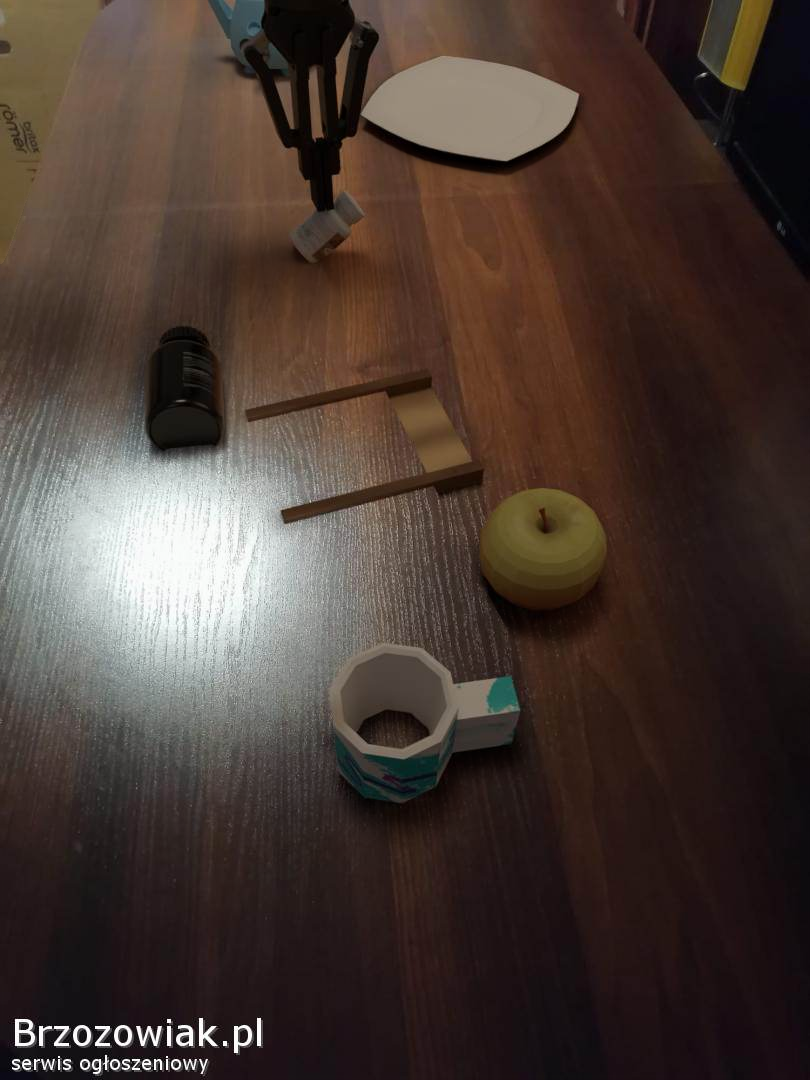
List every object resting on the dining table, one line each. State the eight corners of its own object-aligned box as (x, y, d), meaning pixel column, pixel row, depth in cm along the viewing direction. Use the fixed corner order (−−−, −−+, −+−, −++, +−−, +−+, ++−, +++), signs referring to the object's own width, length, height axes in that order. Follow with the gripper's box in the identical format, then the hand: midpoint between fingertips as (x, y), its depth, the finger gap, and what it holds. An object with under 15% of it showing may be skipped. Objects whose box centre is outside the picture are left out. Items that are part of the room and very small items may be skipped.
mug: (330, 709, 62) (323, 649, 56) (491, 686, 64) (503, 625, 57) (344, 819, 57) (338, 768, 51) (518, 792, 59) (535, 738, 52)
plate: (513, 189, 107) (515, 174, 106) (334, 130, 116) (334, 116, 114) (600, 105, 122) (603, 90, 120) (435, 58, 130) (436, 44, 128)
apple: (496, 517, 74) (507, 451, 68) (607, 551, 72) (629, 487, 66) (459, 605, 68) (466, 542, 62) (578, 644, 66) (599, 584, 60)
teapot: (207, 55, 129) (194, -31, 120) (286, 34, 134) (279, -50, 125) (258, 95, 122) (248, 6, 113) (339, 71, 127) (336, -15, 118)
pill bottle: (314, 270, 94) (367, 222, 92) (286, 238, 92) (340, 188, 90) (317, 262, 98) (368, 216, 96) (290, 231, 96) (342, 183, 94)
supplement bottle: (229, 457, 78) (226, 369, 85) (218, 401, 73) (217, 312, 80) (151, 463, 77) (156, 374, 84) (135, 407, 72) (141, 317, 79)
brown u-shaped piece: (247, 423, 81) (244, 409, 79) (427, 382, 85) (427, 368, 83) (285, 533, 72) (283, 520, 71) (482, 482, 76) (484, 468, 75)
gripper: (235, -28, 70) (270, 234, 88) (390, -48, 72) (393, 211, 91) (215, -59, 74) (253, 197, 92) (363, -76, 77) (370, 176, 95)
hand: (322, 204), depth 92 cm, fingers closed
